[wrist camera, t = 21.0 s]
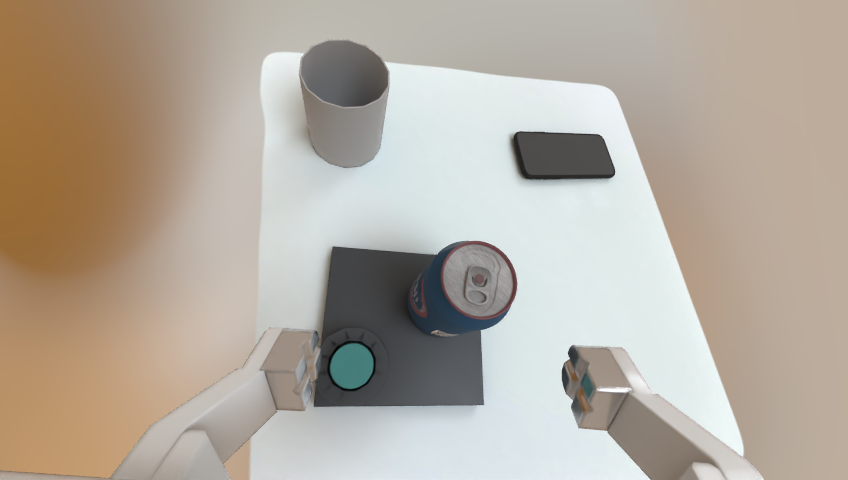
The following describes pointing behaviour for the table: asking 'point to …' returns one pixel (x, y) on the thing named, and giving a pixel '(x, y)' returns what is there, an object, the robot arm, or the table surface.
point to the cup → (344, 100)
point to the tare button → (351, 366)
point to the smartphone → (563, 155)
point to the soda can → (463, 290)
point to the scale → (392, 337)
